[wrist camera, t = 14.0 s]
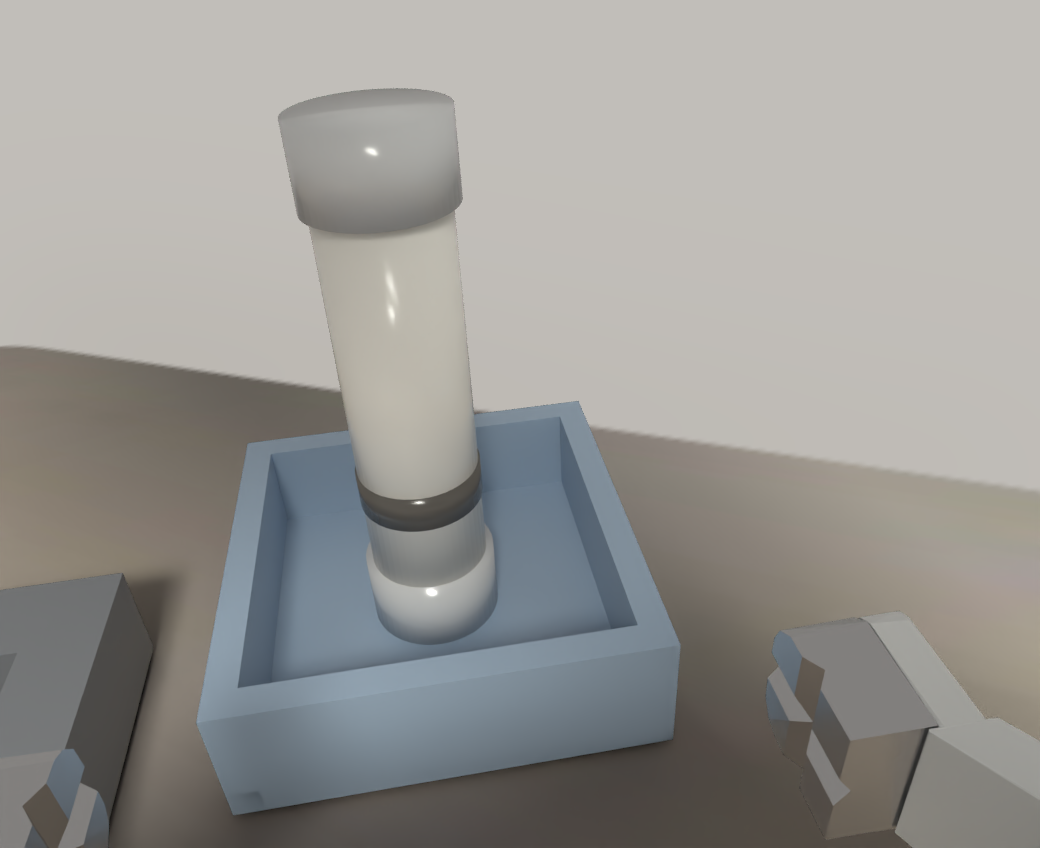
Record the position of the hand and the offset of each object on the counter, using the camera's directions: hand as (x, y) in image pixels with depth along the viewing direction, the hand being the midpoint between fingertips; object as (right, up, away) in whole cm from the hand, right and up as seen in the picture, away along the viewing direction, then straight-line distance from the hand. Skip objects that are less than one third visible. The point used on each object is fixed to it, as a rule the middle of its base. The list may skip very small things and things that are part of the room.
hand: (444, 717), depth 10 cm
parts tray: (-1, -2, +16) cm, 16 cm away
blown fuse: (-2, -2, +15) cm, 15 cm away
